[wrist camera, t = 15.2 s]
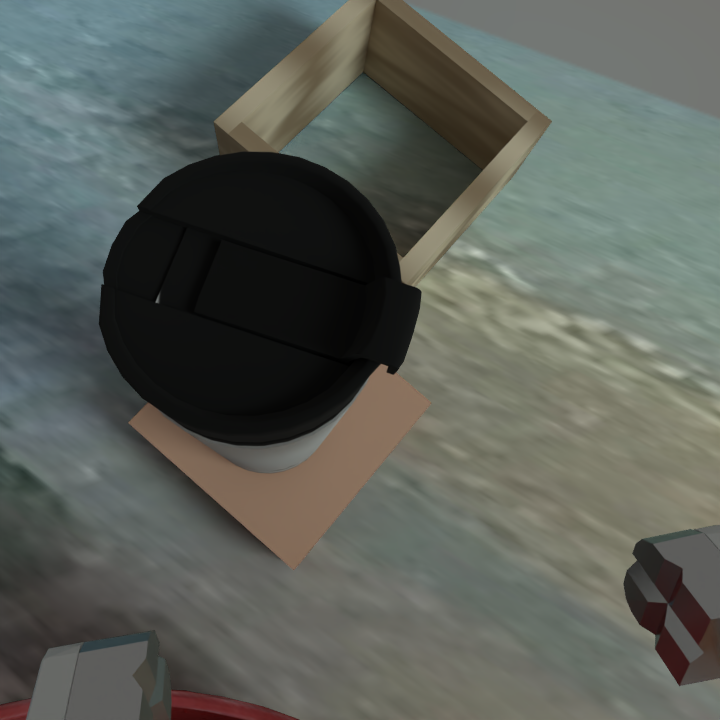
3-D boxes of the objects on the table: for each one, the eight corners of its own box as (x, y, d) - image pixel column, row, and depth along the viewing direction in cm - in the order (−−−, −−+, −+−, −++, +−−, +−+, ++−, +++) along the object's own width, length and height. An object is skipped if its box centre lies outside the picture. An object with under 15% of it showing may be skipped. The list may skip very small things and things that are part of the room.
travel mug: (313, 492, 30) (371, 486, 11) (188, 451, 30) (19, 371, 11) (351, 376, 32) (459, 193, 13) (232, 336, 32) (154, 84, 12)
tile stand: (293, 563, 32) (293, 570, 29) (142, 429, 33) (128, 422, 30) (419, 410, 35) (431, 403, 32) (277, 289, 36) (277, 270, 33)
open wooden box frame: (386, 318, 36) (406, 284, 30) (224, 181, 37) (213, 121, 31) (512, 177, 39) (551, 121, 33) (361, 53, 40) (374, -23, 34)
